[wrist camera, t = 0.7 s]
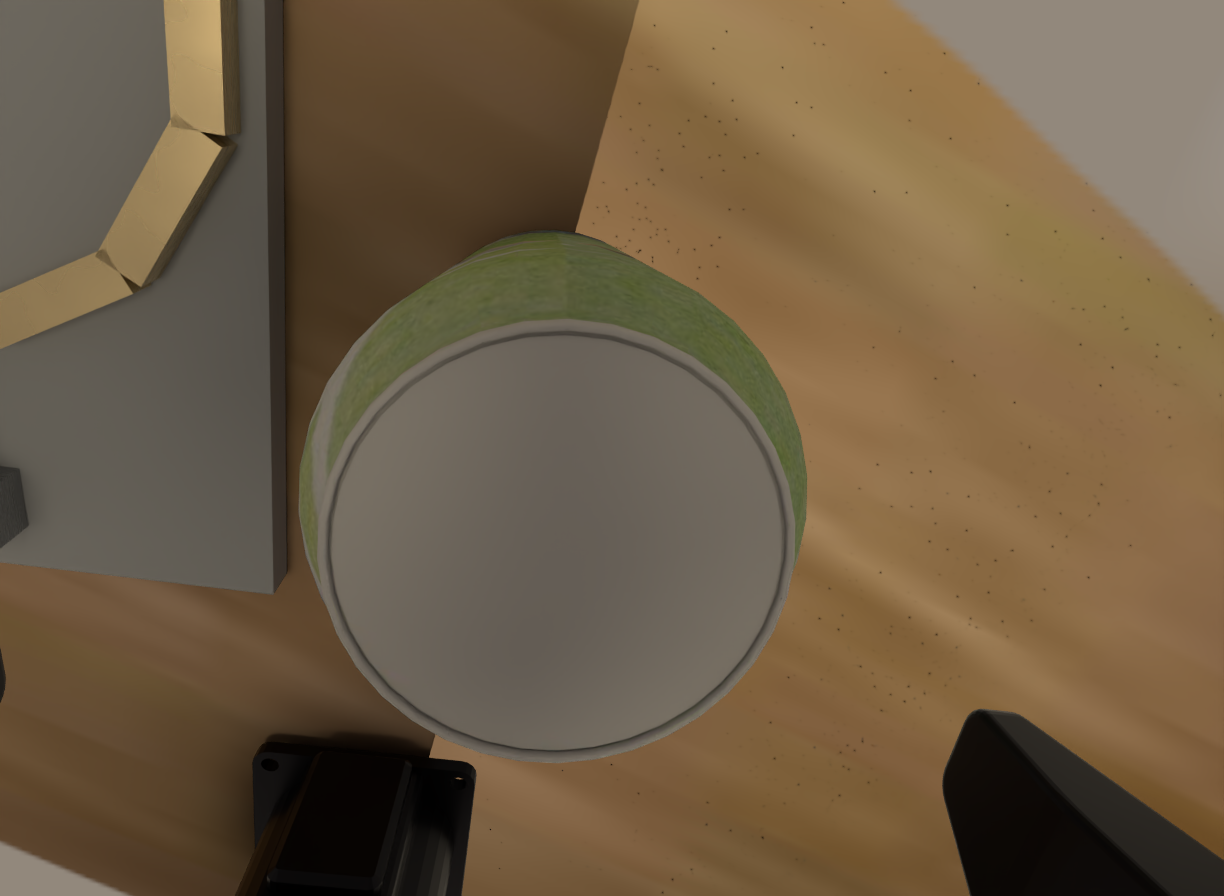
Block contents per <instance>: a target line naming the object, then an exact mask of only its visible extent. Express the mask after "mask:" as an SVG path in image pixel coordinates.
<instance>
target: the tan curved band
mask: <svg viewBox="0 0 1224 896" xmlns="http://www.w3.org/2000/svg"><path fill="white" fill-rule="evenodd" d="M164 17H165V33H166V50H167V66H168V82H169V99H170V115H171V119H170V121H169V123H168V125H167V127H166V129H165V130H164V132H163V134H162V136H161V138H160V139H159V141H158V143H157V145H156V147H155V148H154V150H153V152H152V154H151V156H150V158H149V159H148V161H147V163H146V165H145V167H144V168H143V170H142V172H141V174H140V176H139V178H138V179H137V181H136V183H135V185H134V187H133V188H132V190H131V192H130V194H129V196H128V198H127V199H126V201H125V203H124V205H123V207H122V208H121V210H120V212H119V214H118V216H117V218H116V219H115V221H114V223H113V225H112V227H111V228H110V230H109V232H108V234H107V236H106V238H105V239H104V241H103V243H102V245H101V247H100V248H99V250H98V251H97V252H95V253H92V254H90V255H88V256H85V257H83V258H81V259H78V260H76V261H74V262H71V263H69V264H67V265H64V266H62V267H60V268H57V269H55V270H52V271H50V272H48V273H45V274H43V275H41V276H38V277H36V278H34V279H31V280H29V281H27V282H24V283H22V284H20V285H17V286H15V287H13V288H10V289H8V290H6V291H3V292H1V293H0V349H2V348H4V347H6V346H9V345H11V344H14V343H16V342H18V341H21V340H23V339H26V338H28V337H30V336H33V335H35V334H38V333H40V332H42V331H45V330H47V329H50V328H52V327H54V326H57V325H59V324H62V323H64V322H66V321H69V320H71V319H74V318H76V317H78V316H81V315H83V314H86V313H88V312H91V311H93V310H95V309H98V308H100V307H103V306H105V305H107V304H110V303H112V302H115V301H117V300H119V299H122V298H124V297H127V296H129V295H131V294H134V293H136V292H138V291H140V290H142V289H144V288H146V287H149V286H151V285H152V284H151V282H153V281H155V280H157V279H159V278H160V277H161V275H162V274H163V272H164V270H165V268H166V267H167V265H168V263H169V262H170V260H171V258H172V257H173V255H174V253H175V251H176V250H177V248H178V246H179V245H180V243H181V241H182V240H183V238H184V236H185V234H186V233H187V231H188V229H189V228H190V226H191V224H192V223H193V221H194V219H195V218H196V216H197V214H198V212H199V211H200V209H201V207H202V206H203V204H204V202H205V201H206V199H207V197H208V195H209V194H210V192H211V190H212V189H213V187H214V185H215V184H216V182H217V180H218V178H219V177H220V175H221V173H222V172H223V170H224V168H225V167H226V165H227V163H228V161H229V160H230V158H231V156H232V155H233V153H234V151H235V150H236V148H237V146H238V144H237V143H235V142H234V141H233V140H231V139H230V138H229V137H227V136H226V135H232V134H238V133H241V109H240V72H239V36H238V0H164ZM28 526H29V523H28V517H27V510H26V504H25V498H24V491H23V485H22V479H21V473H20V468H13V467H5V466H0V548H2V547H3V546H4V545H5V544H7V543H8V542H9V541H10V540H12V539H13V538H14V537H16V536H17V535H18V534H19V533H21V532H22V531H23V530H24V529H26V528H27V527H28Z"/></svg>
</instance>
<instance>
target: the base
mask: <svg viewBox="0 0 1224 896" xmlns="http://www.w3.org/2000/svg"><path fill="white" fill-rule="evenodd" d="M238 36H239V72H240V109H241V133H238V134H232V135H226V136H227V137H229V138H230V139H231V140H233V141H234V142H235V143H237V144H238V146H237V148H236V150H235V151H234V153H233V155H232V156H231V158H230V160H229V161H228V163H227V165H226V167H225V168H224V170H223V172H222V173H221V175H220V177H219V178H218V180H217V182H216V184H215V185H214V187H213V189H212V190H211V192H210V194H209V195H208V197H207V199H206V201H205V202H204V204H203V206H202V207H201V209H200V211H199V212H198V214H197V216H196V218H195V219H194V221H193V223H192V224H191V226H190V228H189V229H188V231H187V233H186V234H185V236H184V238H183V240H182V241H181V243H180V245H179V246H178V248H177V250H176V251H175V253H174V255H173V257H172V258H171V260H170V262H169V263H168V265H167V267H166V268H165V270H164V272H163V274H162V275H161V277H160V278H159V279H157V280H155V281H153V282H151V284H152V285H151V286H149V287H146V288H144V289H142V290H140V291H138V292H136V293H134V294H131V295H129V296H127V297H124V298H122V299H119V300H117V301H115V302H112V303H110V304H107V305H105V306H103V307H100V308H98V309H95V310H93V311H91V312H88V313H86V314H83V315H81V316H78V317H76V318H74V319H71V320H69V321H66V322H64V323H62V324H59V325H57V326H54V327H52V328H50V329H47V330H45V331H42V332H40V333H38V334H35V335H33V336H30V337H28V338H26V339H23V340H21V341H18V342H16V343H14V344H11V345H9V346H6V347H4V348H2V349H0V466H5V467H13V468H20V473H21V479H22V485H23V491H24V498H25V504H26V510H27V517H28V523H29V526H28V527H27V528H26V529H24V530H23V531H22V532H21V533H19V534H18V535H17V536H16V537H14V538H13V539H12V540H10V541H9V542H8V543H7V544H5V545H4V546H3V547H2V548H0V562H2V563H10V564H19V565H27V566H36V567H44V568H53V569H61V570H70V571H78V572H86V573H95V574H103V575H112V576H120V577H129V578H137V579H146V580H154V581H162V582H171V583H179V584H188V585H196V586H205V587H213V588H222V589H230V590H239V591H247V592H255V593H264V594H272V595H274V593H275V591H276V590H277V588H278V586H279V585H280V583H281V582H282V580H283V578H284V577H285V575H286V573H287V539H286V394H285V249H284V104H283V0H238ZM170 119H171V115H170V99H169V82H168V66H167V50H166V33H165V17H164V0H0V293H1V292H3V291H6V290H8V289H10V288H13V287H15V286H17V285H20V284H22V283H24V282H27V281H29V280H31V279H34V278H36V277H38V276H41V275H43V274H45V273H48V272H50V271H52V270H55V269H57V268H60V267H62V266H64V265H67V264H69V263H71V262H74V261H76V260H78V259H81V258H83V257H85V256H88V255H90V254H92V253H95V252H97V251H98V250H99V248H100V247H101V245H102V243H103V241H104V239H105V238H106V236H107V234H108V232H109V230H110V228H111V227H112V225H113V223H114V221H115V219H116V218H117V216H118V214H119V212H120V210H121V208H122V207H123V205H124V203H125V201H126V199H127V198H128V196H129V194H130V192H131V190H132V188H133V187H134V185H135V183H136V181H137V179H138V178H139V176H140V174H141V172H142V170H143V168H144V167H145V165H146V163H147V161H148V159H149V158H150V156H151V154H152V152H153V150H154V148H155V147H156V145H157V143H158V141H159V139H160V138H161V136H162V134H163V132H164V130H165V129H166V127H167V125H168V123H169V121H170Z"/></svg>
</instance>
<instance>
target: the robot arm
mask: <svg viewBox="0 0 1224 896" xmlns="http://www.w3.org/2000/svg"><path fill="white" fill-rule="evenodd" d="M5 682H6V677H5V670H4V665H3V660H2V655H1V649H0V702H1V700H2V697H3V694H4V690H5ZM269 758H270V759H274V760H275V761H274V760H270V759H269ZM458 777H459V778H462V779H460V780H459V779H456V778H458ZM475 783H476V770H475V769H474V767H473V766H472V765H470V764H469V763H467V762H463V761H455V760H445V759H435V758H426V757H416V756H406V755H397V754H387V753H377V752H368V751H358V750H348V749H339V748H329V747H319V746H309V745H300V744H290V743H280V742H267V743H265V744H262V745H261V746H260V747H259V749H258V751H257V753H256V755H255V757H254V759H253V795H254V827H255V851H254V853H253V856H252V858H251V860H250V863H249V865H248V867H247V869H246V872H245V874H244V876H243V879H242V881H241V883H240V885H239V888H238V890H237V892H236V894H235V896H462V888H463V880H464V872H465V863H466V855H467V847H468V839H469V831H470V823H471V815H472V807H473V799H474V791H475ZM942 787H943V796H944V800H945V804H946V808H947V812H948V815H949V819H950V823H951V827H952V830H953V834H954V838H955V842H956V845H957V849H958V853H959V856H960V860H961V864H962V868H963V871H964V875H965V879H966V883H967V886H968V890H969V894H970V896H1224V860H1223V859H1221V858H1220V857H1218V856H1217V855H1216V854H1214V853H1213V852H1211V851H1210V850H1209V849H1207V848H1206V847H1204V846H1203V845H1202V844H1200V843H1199V842H1197V841H1196V840H1195V839H1193V838H1192V837H1190V836H1189V835H1188V834H1186V833H1185V832H1183V831H1182V830H1181V829H1179V828H1178V827H1176V826H1175V825H1174V824H1172V823H1171V822H1169V821H1168V820H1167V819H1165V818H1164V817H1162V816H1161V815H1160V814H1158V813H1157V812H1155V811H1154V810H1153V809H1151V808H1150V807H1148V806H1147V805H1146V804H1144V803H1143V802H1141V801H1140V800H1139V799H1137V798H1136V797H1134V796H1133V795H1132V794H1130V793H1129V792H1127V791H1126V790H1125V789H1123V788H1122V787H1121V786H1119V785H1118V784H1116V783H1115V782H1114V781H1112V780H1111V779H1109V778H1108V777H1107V776H1105V775H1104V774H1102V773H1101V772H1100V771H1098V770H1097V769H1095V768H1094V767H1093V766H1091V765H1090V764H1088V763H1087V762H1086V761H1084V760H1083V759H1081V758H1080V757H1079V756H1077V755H1076V754H1074V753H1073V752H1072V751H1070V750H1069V749H1067V748H1066V747H1065V746H1063V745H1062V744H1060V743H1059V742H1058V741H1056V740H1055V739H1053V738H1052V737H1051V736H1049V735H1048V734H1046V733H1045V732H1044V731H1042V730H1041V729H1039V728H1038V727H1037V726H1035V725H1034V724H1032V723H1031V722H1030V721H1028V720H1027V719H1025V718H1024V717H1022V716H1021V715H1019V714H1016V713H1013V712H1007V711H997V710H988V709H978V710H974V711H973V712H971V713H970V714H969V715H968V716H967V718H966V720H965V722H964V724H963V727H962V729H961V732H960V734H959V736H958V739H957V741H956V743H955V746H954V748H953V751H952V753H951V755H950V758H949V760H948V762H947V765H946V767H945V770H944V774H943V785H942Z"/></svg>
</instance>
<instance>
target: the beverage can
mask: <svg viewBox="0 0 1224 896" xmlns="http://www.w3.org/2000/svg"><path fill="white" fill-rule="evenodd" d="M806 500H807V472H806V466H805V460H804V454H803V447H802V441H801V435H800V432H799V429H798V426H797V423H796V421H795V418H794V415H793V412H792V409H791V407H790V404H789V401H788V398H787V395H786V393H785V391H784V389H783V387H782V386H781V384H780V382H779V381H778V379H777V377H776V376H775V374H774V372H773V370H772V369H771V367H770V365H769V364H768V362H767V360H766V358H765V357H764V355H763V354H762V353H761V352H760V351H759V349H758V348H757V347H756V346H755V345H754V344H753V342H752V341H751V340H750V339H749V338H748V337H747V336H746V334H745V333H744V332H743V331H742V330H741V329H740V327H739V326H738V325H737V324H736V323H735V322H734V321H733V320H732V319H731V318H730V317H728V316H727V315H726V314H725V313H723V312H722V311H721V310H719V309H718V308H717V307H716V306H714V305H713V304H712V303H711V302H709V301H708V300H707V299H706V298H704V297H703V296H702V295H701V294H699V293H698V292H696V291H694V290H692V289H690V288H689V287H687V286H685V285H683V284H681V283H679V282H678V281H676V280H674V279H672V278H670V277H668V276H666V275H665V274H663V273H661V272H659V271H657V270H655V269H653V268H652V267H650V266H648V265H646V264H644V263H642V262H640V261H639V260H637V259H635V258H633V257H631V256H629V255H627V254H626V253H624V252H622V251H620V250H618V249H616V248H614V247H612V246H611V245H609V244H607V243H605V242H603V241H601V240H598V239H595V238H592V237H589V236H586V235H583V234H579V233H574V232H566V231H559V230H541V231H528V232H524V233H519V234H515V235H511V236H507V237H504V238H502V239H499V240H497V241H495V242H493V243H490V244H488V245H486V246H484V247H482V248H481V249H479V250H477V251H476V252H474V253H473V254H471V255H470V256H468V257H467V258H465V259H464V260H462V261H461V262H459V263H457V264H456V265H454V266H453V267H451V268H450V269H448V270H447V271H445V272H444V273H442V274H441V275H439V276H437V277H436V278H434V279H433V280H431V281H430V282H428V283H427V284H425V285H424V286H422V287H421V288H419V289H418V290H416V291H415V292H413V293H412V294H410V295H409V296H407V297H406V298H404V299H403V300H402V301H400V302H399V303H397V304H396V305H394V306H393V307H391V308H390V309H388V310H387V311H386V312H385V313H384V314H383V315H382V316H381V317H380V318H379V319H378V320H377V321H376V322H375V323H374V324H373V325H372V326H371V327H370V328H369V329H368V330H367V331H366V332H365V333H364V334H363V335H362V336H361V337H360V338H359V339H358V340H357V341H356V342H355V343H354V344H353V346H352V347H351V349H350V350H349V352H348V353H347V354H346V356H345V357H344V359H343V360H342V362H341V363H340V365H339V366H338V368H337V369H336V370H335V372H334V373H333V375H332V376H331V378H330V379H329V381H328V382H327V384H326V387H325V389H324V391H323V394H322V396H321V398H320V401H319V403H318V405H317V407H316V410H315V412H314V414H313V417H312V419H311V421H310V424H309V429H308V433H307V438H306V442H305V447H304V451H303V456H302V460H301V465H300V477H299V518H300V524H301V530H302V536H303V542H304V548H305V554H306V557H307V560H308V563H309V566H310V568H311V571H312V574H313V576H314V579H315V582H316V584H317V587H318V590H319V593H320V595H321V598H322V600H323V601H324V603H325V605H326V606H327V609H328V612H329V614H330V617H331V620H332V622H333V625H334V628H335V631H336V633H337V635H338V637H339V639H340V640H341V642H342V644H343V645H344V647H345V649H346V650H347V652H348V654H349V655H350V657H351V659H352V660H353V662H354V664H355V665H356V667H357V668H358V670H359V671H360V672H361V673H362V674H363V675H364V676H365V678H366V679H367V680H368V681H369V682H370V683H371V684H372V686H373V687H374V688H375V689H376V690H377V691H378V692H379V694H380V695H381V696H382V697H383V698H385V699H386V700H387V701H388V702H390V703H391V704H392V705H393V706H394V707H396V708H397V709H398V710H399V711H401V712H402V713H403V714H404V715H406V716H407V717H408V718H409V719H410V720H412V721H413V722H415V723H417V724H419V725H420V726H422V727H424V728H426V729H427V730H429V731H431V732H433V733H434V734H436V735H438V736H440V737H441V738H443V739H445V740H448V741H450V742H453V743H456V744H458V745H461V746H464V747H466V748H469V749H472V750H474V751H477V752H480V753H483V754H488V755H493V756H498V757H502V758H507V759H512V760H517V761H530V762H548V763H562V762H573V761H584V760H594V759H599V758H603V757H607V756H611V755H615V754H619V753H623V752H627V751H632V750H634V749H637V748H639V747H642V746H644V745H646V744H649V743H651V742H654V741H656V740H659V739H661V738H664V737H666V736H668V735H670V734H671V733H673V732H675V731H676V730H678V729H680V728H681V727H683V726H685V725H686V724H688V723H690V722H691V721H693V720H695V719H697V718H698V717H700V716H701V715H702V714H703V713H705V712H706V711H707V710H708V709H709V708H711V707H712V706H713V705H714V704H715V703H717V702H718V701H719V700H720V699H721V698H723V697H724V696H725V695H726V694H727V693H729V692H730V690H731V689H732V688H733V687H734V686H735V685H736V684H737V682H738V681H739V680H740V679H741V678H742V677H743V676H744V674H745V673H746V672H747V671H748V670H749V669H750V668H751V666H752V665H753V664H754V662H755V661H756V659H757V658H758V656H759V654H760V653H761V651H762V649H763V648H764V646H765V645H766V643H767V641H768V640H769V638H770V636H771V635H772V633H773V631H774V629H775V626H776V624H777V621H778V619H779V616H780V614H781V611H782V609H783V606H784V604H785V601H786V599H787V595H788V590H789V585H790V580H791V575H792V572H793V570H794V567H795V565H796V562H797V559H798V555H799V550H800V545H801V540H802V535H803V531H804V526H805V521H806Z"/></svg>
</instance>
